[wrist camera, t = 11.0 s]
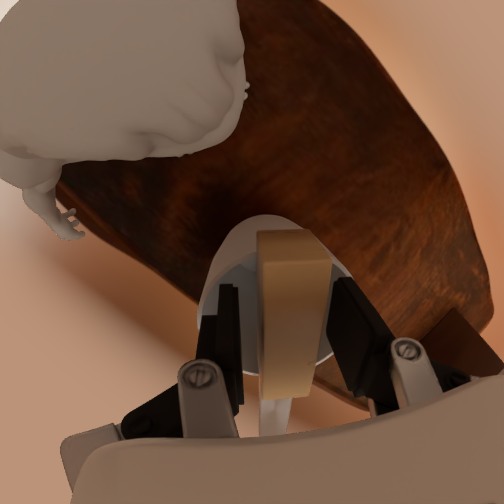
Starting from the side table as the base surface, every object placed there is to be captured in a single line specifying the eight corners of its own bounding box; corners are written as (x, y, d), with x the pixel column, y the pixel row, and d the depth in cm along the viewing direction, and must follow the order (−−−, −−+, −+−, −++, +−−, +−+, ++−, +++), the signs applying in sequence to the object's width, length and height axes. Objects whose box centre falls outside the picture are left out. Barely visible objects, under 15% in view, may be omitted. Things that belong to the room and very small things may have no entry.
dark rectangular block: (453, 307, 27) (506, 366, 16) (463, 325, 29) (507, 378, 18) (382, 373, 30) (416, 443, 20) (399, 384, 32) (430, 445, 21)
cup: (288, 297, 24) (314, 383, 15) (200, 273, 23) (182, 360, 14) (326, 215, 21) (386, 274, 12) (230, 181, 20) (226, 220, 11)
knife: (255, 229, 11) (263, 263, 8) (309, 228, 11) (334, 259, 8) (257, 432, 17) (260, 464, 15) (285, 429, 17) (291, 461, 15)
